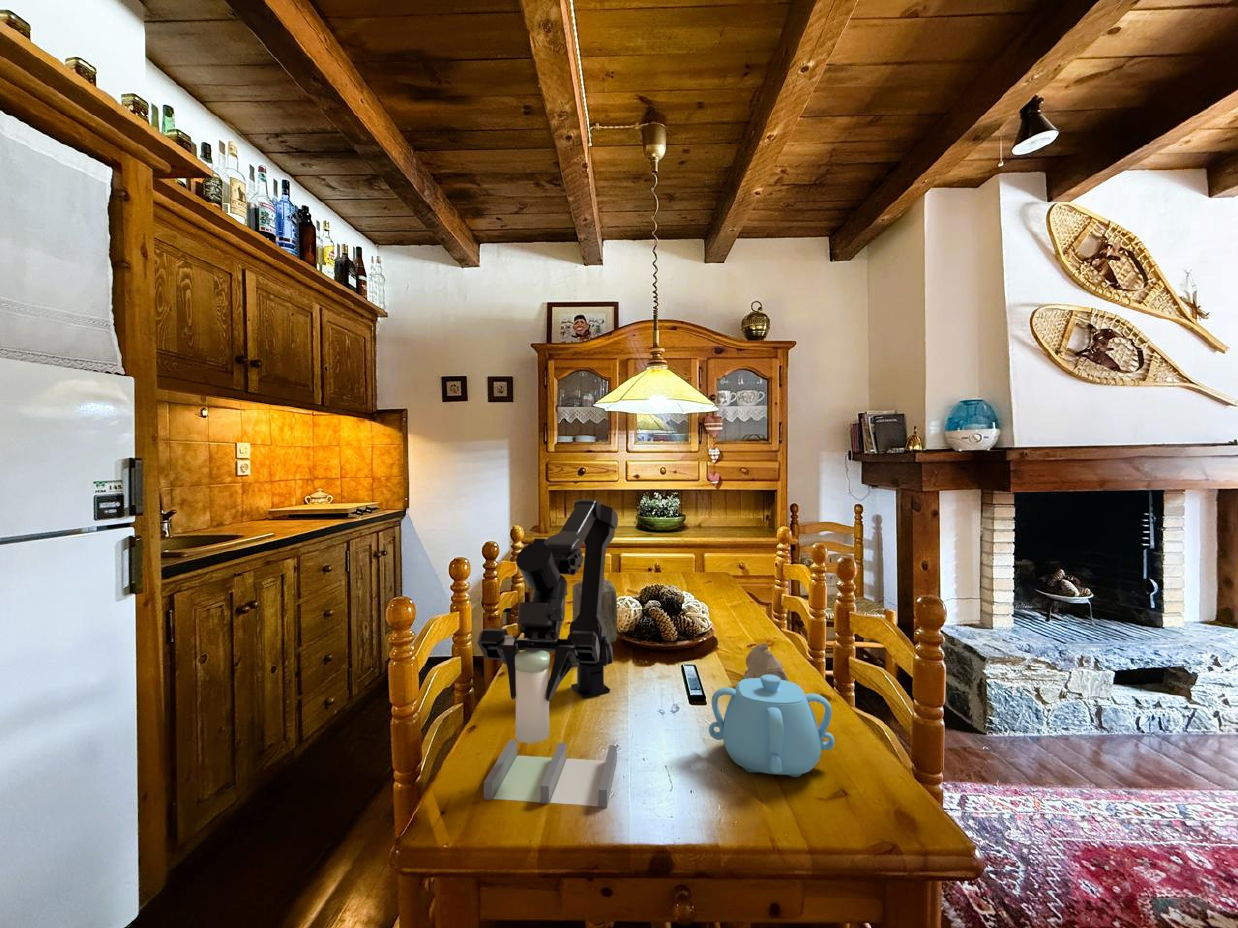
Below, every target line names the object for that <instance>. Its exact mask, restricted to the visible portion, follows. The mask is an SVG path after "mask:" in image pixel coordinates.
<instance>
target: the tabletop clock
mask: <svg viewBox="0 0 1238 928" xmlns="http://www.w3.org/2000/svg"><path fill="white" fill-rule="evenodd" d="M581 590H582V580H580V581H578V582H576V583H575V584H573V585H572V621H574V620H575V619H576V618H577V616H578V615H579V612H580V601H581ZM601 617H602V619H603V621H604V623H605V625H606V627H607V637H608V639H609V641H610V643H611V642H616V641H617V633H618V601H617V590H616V587H615V586H614V583H613V582H612V581H610V580H609V579H605V578H604V580H603V593H602V606H601Z"/></svg>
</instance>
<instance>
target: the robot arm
mask: <svg viewBox="0 0 1238 928" xmlns="http://www.w3.org/2000/svg"><path fill="white" fill-rule="evenodd" d="M618 524H619V517H618V513H617V512H616V511H615V509H614V508H613V507H610V506H608V505H606V504H602V502H600V501H599V500H598V501H597V500H596V499H578V500H576V501H575V502H574V505H573V510H572V512H571V513H570V515H569V516H568V517H567V520H566V521H565V523H564V525H563V526H562V528H561V529H560V531H559V532H558V533H556V534H554V535H551V536H549V537H547V538H539V537H538V538H537V537H536V538H534V539H533V542H532V543H530V544H528V545H527V544H526V546H524V547H522V549H521V550H520V551H519V552H518V553H517V554H516V558H515V563H516V566H517V568H518V570H519V572H520V573H521V576H522V577H523V579H524V581H525V583H526V585H527V586H528V588H530V590H532V594H531V597H530V601H528V602H523V601H521V602H519V604H518V611H517V621H516V624H517V625H519V632H520V634H523V637H517V636H516V635H509V633H508V630H507V629H506V628H497V627H495V628H494V627H493V628H491V627H485V628H484V629H483V630H482V631H480V632H479V636H478V638H477V644H478V647H479V649H480V650H481V652H482V654H483V657H485V659H488V660H500V661H502V663H503V664H504V665H506V669H507V673H508V674H507V676H508V683H509V692H510V698H511V700H513V701H514V700H516V668H515V655H516V654H518V653H520V652H521V651H527V650H543V651H546V652H554V654H553V655H554V658H553V664H552V667H551V671H550V674H549V683H548V687H547V694H546V700H547V701H549V702H550V701H551V699H553V696H554V694H555V693H556V692H557V689H558V688H559V686H560V684H561V683H562V681H563V679H564V678H565V677H566V676H567V674H568V673H569V672H570V670H571V669H572V668H576V683H573V684H571V685H570V687H571V689H572V690H573V691H575V692H576V693H577V694H578V695H579V696H580V697H582V698H588V697H592V696H593V697H594V696H597V695H602V694H607V693H610V692H611V688H609V687H608V686H607V685H606V684H605V683H604V681H605V679H604V678H605V675H604V674H605V671H604V670H605V669H604V667H607V666H608V665H610V664H613V661H614V660H613V658H614V653H613V646H612V645H611V642H610V641H609V639H608V637H607V627H606V625H605V623H604V621H603V619H602V617H601V606H602V593H603V580H604V579H605V564H606V554H607V553H606V552H607V548H608V546H609V545H610V544H611V542H612V541H613V539H614V537H615V532H616V529H617V528H618ZM583 544H584V555H583V552H582V549H581V547H582V546H583ZM582 564H583V568H582ZM581 568H582V569H583V570H582V580H581V581H582V590H581V601H580V612H579V615H578V616H577V618H576V619H575V620H574V621H573V620H572V621H570V625H569V633H568V634H567V637H566V638H560V635H561V628H562V625H563V622H564V621H565V614H566V596H568V593H569V592H568V585H569V584H568V581H567V579H566V577H564V576H565V575H566V576H575V575H576V574H578V571H579V570H580V569H581ZM563 575H564V576H563Z"/></svg>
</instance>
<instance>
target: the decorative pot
mask: <svg viewBox="0 0 1238 928" xmlns="http://www.w3.org/2000/svg"><path fill="white" fill-rule="evenodd" d="M711 696H712V698H711V707H712V713H713V714H714V717H715V720H716V721H713V722H711V723H710V724H709V725H708V726H709V727H708V733H709V735H710V736H711V738H713V739H714V740H715V741H716V740H718V741H721V740H722V741H723V744H724V745H723V746H724V748H725V750H726V752H727V754H728V755H729V756H730V758H731V760H732V761H733V762H734V763H735V764H736V765H738V766H739V767H742V769H743V770H744V769H745V770H744V771H745V772H748V773H751V772H753V773H754V772H755V773H763V774H769V775H776V776H777V775H778V776H783V775H784V776H790V777H792V778H793V777H794V778H800V777H801V776H802V774H806V773H809V772H810V771H812V770H813V769H814V768H815V766H817V763H818V762H819V761H820V759H821V756H822V750H824V751H829V750H831V749H833V748H834V746H835V744H836V743H835V738H834V735H833V734H832V733H830V732H827V730H828V727H829V725H830V723H831V720H832V716H833V715H832V714H833V710H832V706H831V703H830V702H829V701H828V700H827V699H826V698H825V697H823V696H822V695H820V694H817V693H807V694H805V692H804V690H803V688H802V687H801V686H800V685H799V684H797V683H795V682H793V681H788V680H787V681H785V680H781V679H780V678H779V677H777V676H775V675H762V676H761V677H760V678H748V679H743V680H742V679H741V680H740V681H738V683H737V685H736V686H735V688H732V687H730V686H729V687H728V686H727V687H726V686H725V687H721V688H719V689H717V690H716V691H715V692H714V693H713V695H711ZM722 696H730V698H729V702H728V703H727V706H726V709H725V712H724V717H722V713H721V712H720V709H719V703H718V701H719V700H718V699H720V697H722ZM810 702H814V703H815V702H816V703H819V704H821V705H823V707H824V715H823V718H822V721H821V723H820V726H819V725H818V722H817V717H816V716H815V713H814V711H813V708H812V707H811V705H810ZM715 727H716V728H718V729H719V731H716V729H715ZM824 738H826V739H828V741H824ZM755 773H754V774H755Z"/></svg>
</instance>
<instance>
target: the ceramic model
mask: <svg viewBox="0 0 1238 928" xmlns="http://www.w3.org/2000/svg"><path fill="white" fill-rule="evenodd" d="M747 654H748V655H747V656H746V658H745V666H746V667H747V669H746V670H744V674H743V676H742V679H741V680H743V679H748V678H760V677H761V676H762V675H775V676H777V677H779V678H780V679H781V680H785V681H788V679H789V678H788V674H787V673H786V672H785V669H784V666H783V663H782V662H781V660H779V659H778V658H776V657H775V656H774V654H773V652H772V651H770V650H769V645H768V644H767V643H762V642H761V643H758V644H757V645H756V646H755V647H752V649H751V650H750V652H749V653H747Z"/></svg>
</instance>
